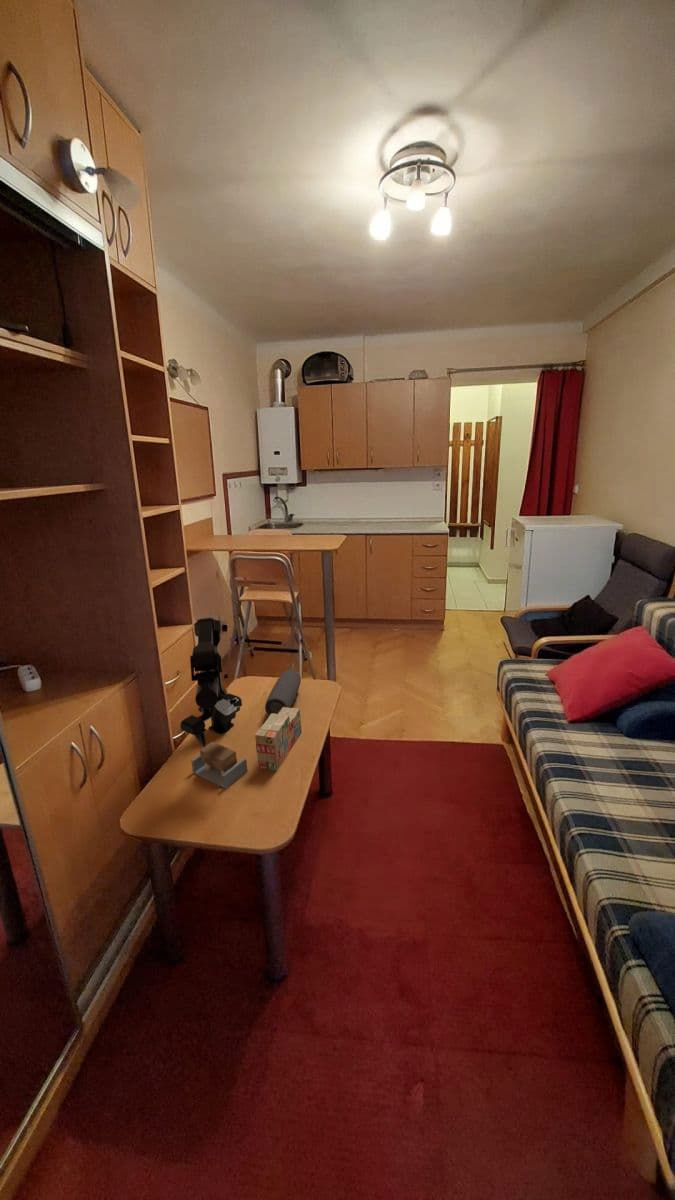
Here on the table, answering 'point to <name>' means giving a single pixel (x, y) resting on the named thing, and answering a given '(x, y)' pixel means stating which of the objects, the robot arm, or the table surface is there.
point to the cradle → (219, 772)
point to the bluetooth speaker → (283, 692)
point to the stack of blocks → (277, 738)
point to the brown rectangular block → (218, 756)
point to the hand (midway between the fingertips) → (215, 738)
